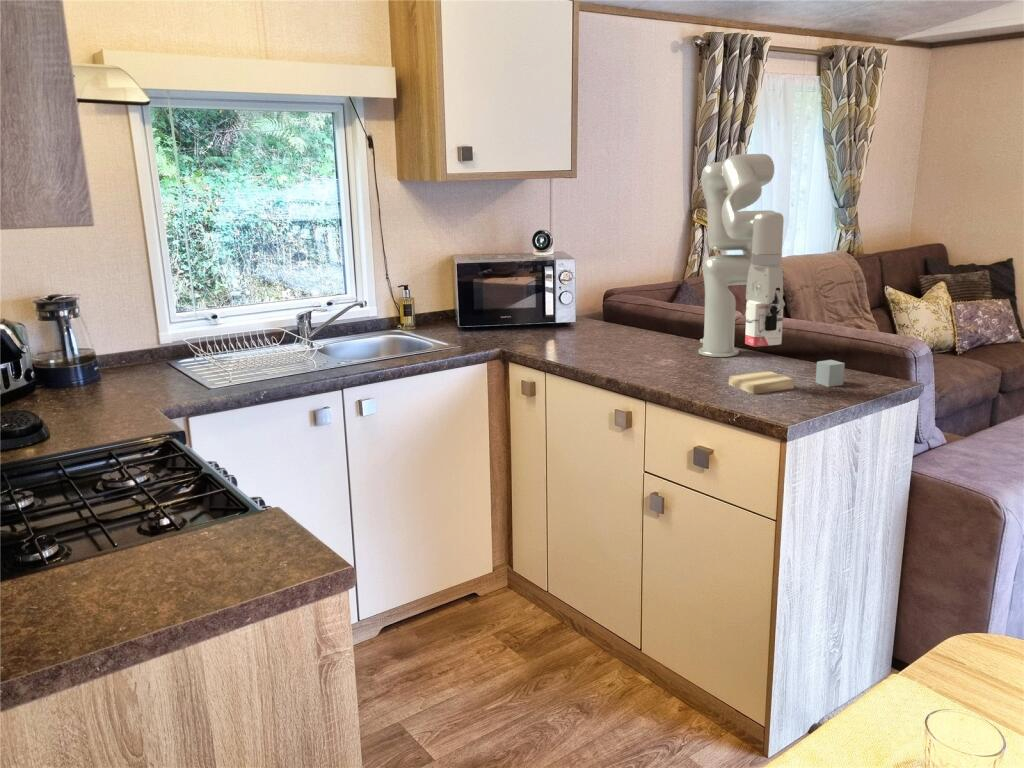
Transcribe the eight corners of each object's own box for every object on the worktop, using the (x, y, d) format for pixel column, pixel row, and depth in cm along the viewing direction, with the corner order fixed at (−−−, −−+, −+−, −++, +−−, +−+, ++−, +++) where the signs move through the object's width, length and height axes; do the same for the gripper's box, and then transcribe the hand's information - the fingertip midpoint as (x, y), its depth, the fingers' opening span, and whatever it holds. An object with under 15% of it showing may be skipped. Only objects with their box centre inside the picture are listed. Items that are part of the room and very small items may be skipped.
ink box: (753, 347, 212) (755, 303, 209) (743, 344, 216) (745, 300, 213) (782, 344, 214) (784, 300, 211) (771, 341, 218) (773, 298, 216)
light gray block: (815, 382, 220) (816, 361, 219) (830, 380, 222) (831, 359, 220) (828, 387, 216) (829, 365, 214) (843, 384, 217) (844, 363, 216)
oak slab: (728, 386, 221) (729, 376, 220) (767, 381, 225) (768, 370, 225) (753, 395, 211) (753, 384, 210) (793, 390, 215) (794, 379, 215)
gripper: (734, 258, 216) (732, 325, 221) (776, 264, 200) (772, 335, 205) (757, 257, 219) (755, 322, 223) (800, 262, 203) (796, 332, 207)
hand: (763, 327), depth 214 cm, fingers closed on ink box, 5 cm apart
